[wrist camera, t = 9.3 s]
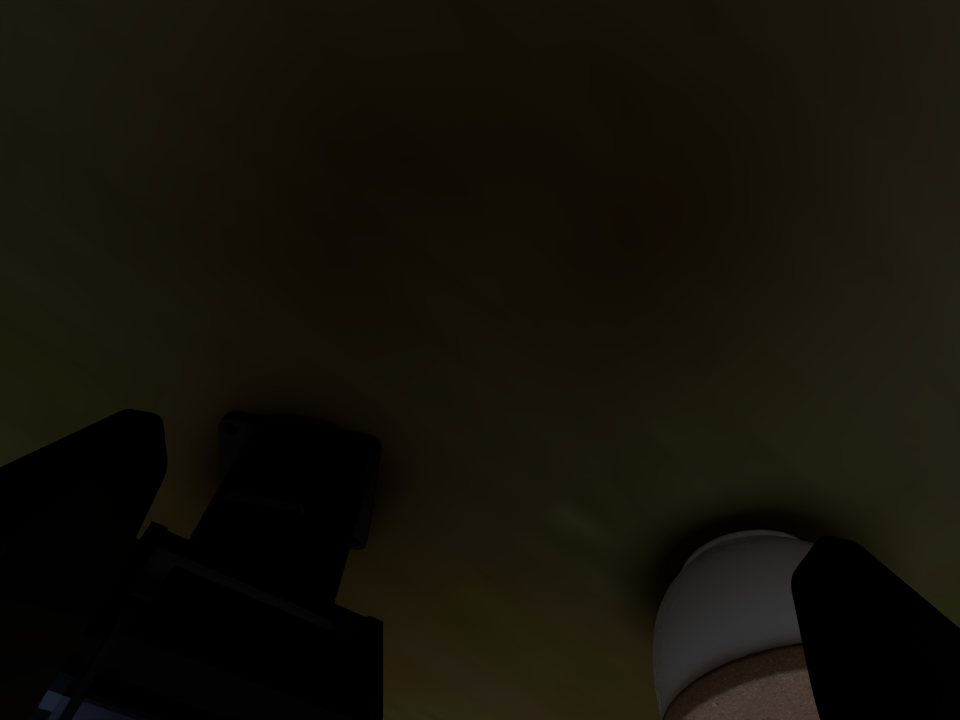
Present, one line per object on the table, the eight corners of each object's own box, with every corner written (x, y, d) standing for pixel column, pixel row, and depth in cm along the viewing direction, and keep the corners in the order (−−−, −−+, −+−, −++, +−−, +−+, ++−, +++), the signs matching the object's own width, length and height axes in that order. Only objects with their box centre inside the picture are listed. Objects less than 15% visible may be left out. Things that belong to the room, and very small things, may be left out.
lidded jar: (633, 645, 32) (673, 867, 24) (627, 501, 26) (678, 729, 18) (847, 634, 30) (966, 866, 22) (891, 480, 25) (1070, 716, 17)
